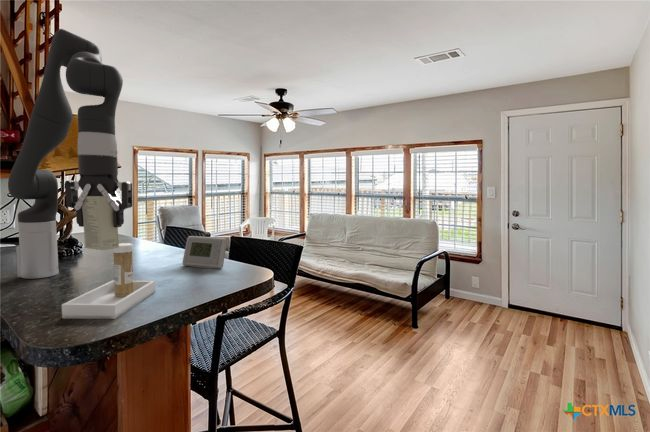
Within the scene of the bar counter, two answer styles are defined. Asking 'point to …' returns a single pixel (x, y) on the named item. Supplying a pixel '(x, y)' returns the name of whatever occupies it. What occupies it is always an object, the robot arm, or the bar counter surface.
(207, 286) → the bar counter surface
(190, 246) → the digital clock
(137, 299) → the tray
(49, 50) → the robot arm
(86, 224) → the skincare box
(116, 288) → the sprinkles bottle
